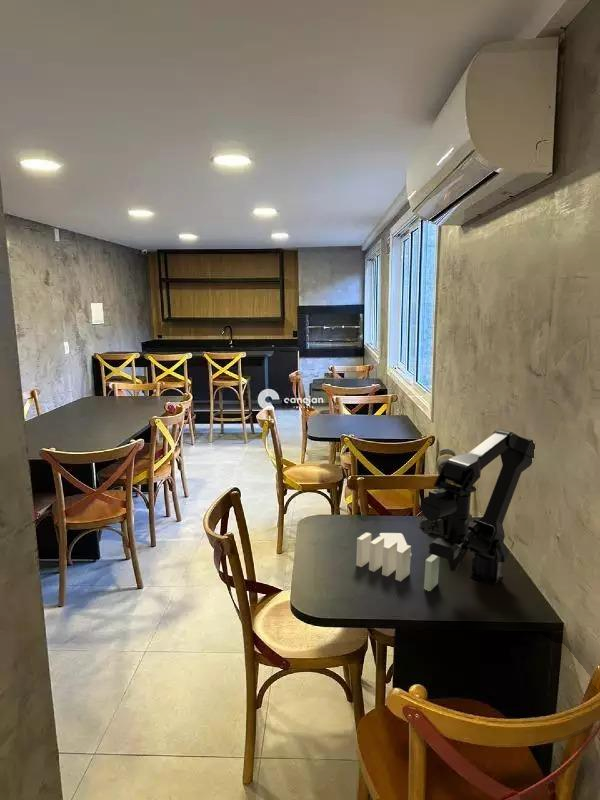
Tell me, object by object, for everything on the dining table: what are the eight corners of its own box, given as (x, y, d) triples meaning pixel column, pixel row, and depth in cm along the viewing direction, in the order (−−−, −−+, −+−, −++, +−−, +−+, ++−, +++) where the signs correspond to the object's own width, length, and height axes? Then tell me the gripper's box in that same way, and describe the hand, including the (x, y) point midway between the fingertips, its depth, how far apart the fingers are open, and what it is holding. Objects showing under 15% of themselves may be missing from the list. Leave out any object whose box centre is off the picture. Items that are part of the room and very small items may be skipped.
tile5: (370, 560, 150) (371, 533, 148) (361, 567, 146) (362, 540, 144) (365, 558, 151) (366, 532, 149) (356, 565, 147) (357, 538, 145)
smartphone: (387, 555, 152) (378, 532, 167) (386, 558, 152) (378, 535, 167) (412, 555, 152) (402, 533, 167) (412, 558, 152) (402, 535, 167)
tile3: (396, 569, 145) (397, 541, 144) (387, 576, 141) (388, 548, 140) (390, 567, 146) (392, 540, 145) (381, 574, 142) (383, 546, 141)
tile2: (409, 573, 143) (411, 546, 141) (400, 581, 139) (402, 552, 137) (404, 572, 144) (405, 544, 142) (395, 579, 140) (396, 551, 138)
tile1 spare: (437, 583, 138) (439, 554, 136) (429, 591, 134) (431, 562, 133) (432, 581, 139) (433, 553, 137) (423, 589, 135) (425, 560, 133)
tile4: (383, 564, 147) (384, 537, 146) (374, 571, 144) (375, 544, 142) (378, 563, 148) (379, 536, 147) (368, 570, 144) (369, 542, 143)
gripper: (441, 492, 141) (437, 547, 144) (409, 514, 127) (406, 575, 130) (483, 502, 135) (478, 560, 137) (454, 526, 120) (450, 590, 123)
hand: (453, 570), depth 132 cm, fingers closed
